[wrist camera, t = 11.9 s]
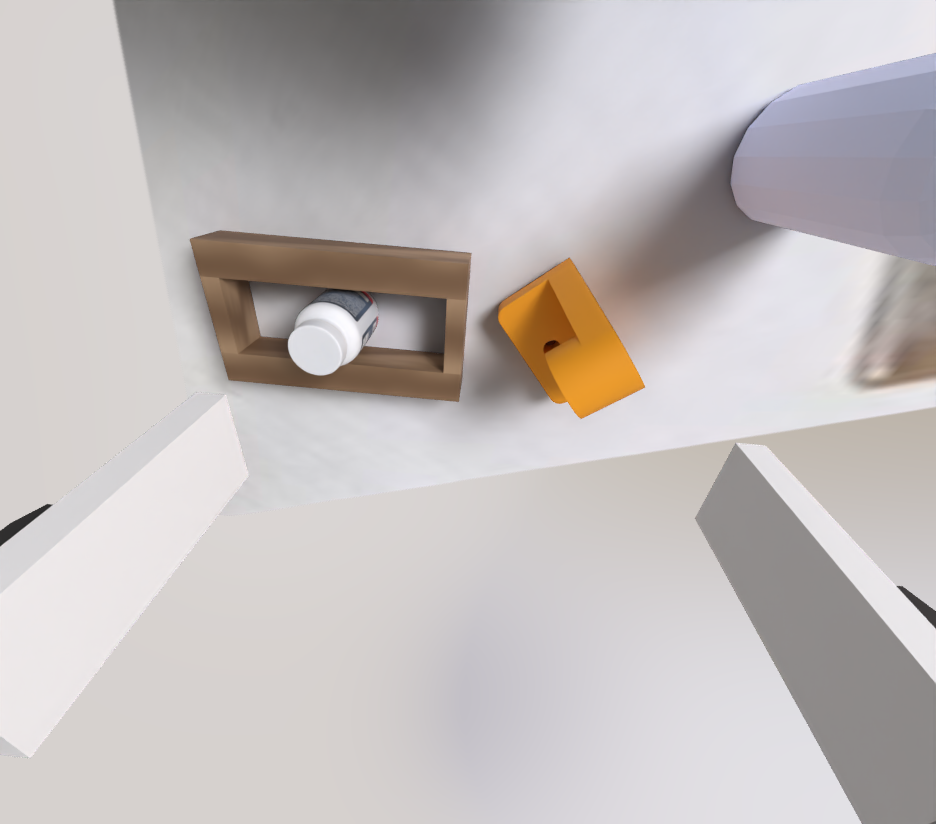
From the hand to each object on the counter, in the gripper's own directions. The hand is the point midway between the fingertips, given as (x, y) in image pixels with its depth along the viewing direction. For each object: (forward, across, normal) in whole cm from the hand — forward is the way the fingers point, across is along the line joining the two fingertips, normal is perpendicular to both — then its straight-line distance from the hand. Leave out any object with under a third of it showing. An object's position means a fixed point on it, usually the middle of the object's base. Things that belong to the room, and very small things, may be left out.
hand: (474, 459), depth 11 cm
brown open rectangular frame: (+27, -12, -6) cm, 30 cm away
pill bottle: (+27, -12, -6) cm, 30 cm away
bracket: (+27, +7, -6) cm, 29 cm away
